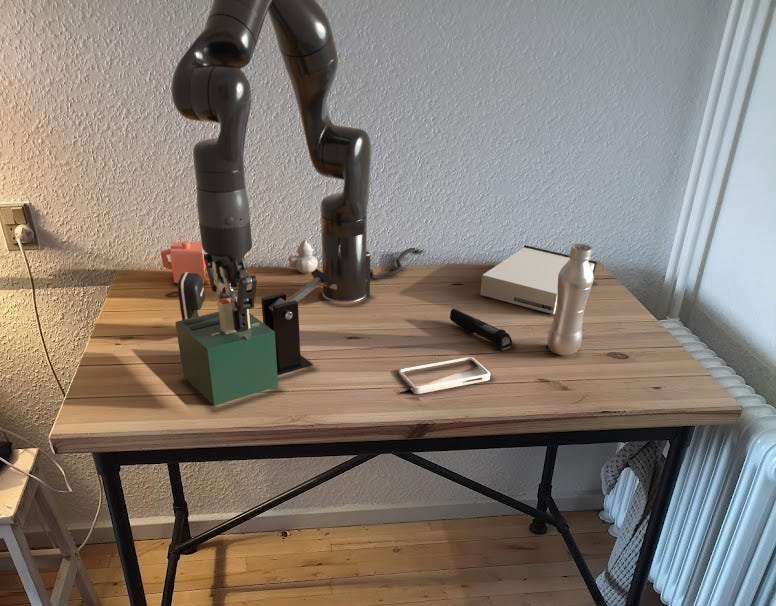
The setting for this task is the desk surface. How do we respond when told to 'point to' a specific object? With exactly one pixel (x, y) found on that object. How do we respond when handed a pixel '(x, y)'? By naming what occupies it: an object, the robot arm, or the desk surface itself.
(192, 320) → the toaster slots
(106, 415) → the desk surface
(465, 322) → the electric trimmer
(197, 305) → the black computer mouse
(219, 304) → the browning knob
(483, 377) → the phone case
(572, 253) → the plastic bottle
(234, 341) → the toaster
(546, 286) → the disc drive
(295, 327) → the black lever stand
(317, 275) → the lever
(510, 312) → the desk surface
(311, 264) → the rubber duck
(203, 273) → the pink cube teapot
